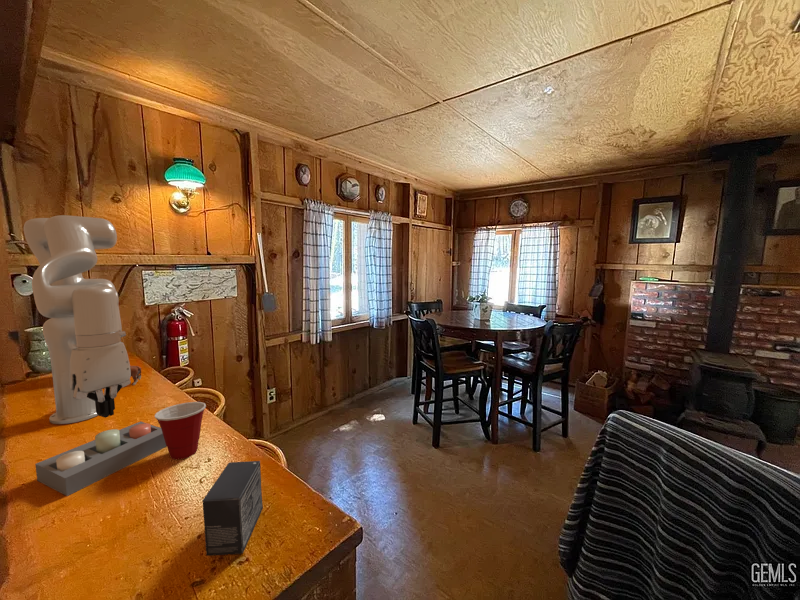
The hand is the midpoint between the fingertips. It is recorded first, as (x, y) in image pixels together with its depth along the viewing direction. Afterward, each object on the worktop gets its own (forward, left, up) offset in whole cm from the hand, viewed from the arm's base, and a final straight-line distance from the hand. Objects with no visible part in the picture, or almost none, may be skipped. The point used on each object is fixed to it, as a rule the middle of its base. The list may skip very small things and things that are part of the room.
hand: (106, 415), depth 78 cm
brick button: (0, +7, -11) cm, 14 cm away
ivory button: (0, -7, -11) cm, 13 cm away
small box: (+45, -3, -12) cm, 46 cm away
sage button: (0, 0, -10) cm, 10 cm away
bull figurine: (-53, +32, -12) cm, 64 cm away
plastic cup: (+12, +10, -12) cm, 20 cm away
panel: (0, 0, -12) cm, 12 cm away
